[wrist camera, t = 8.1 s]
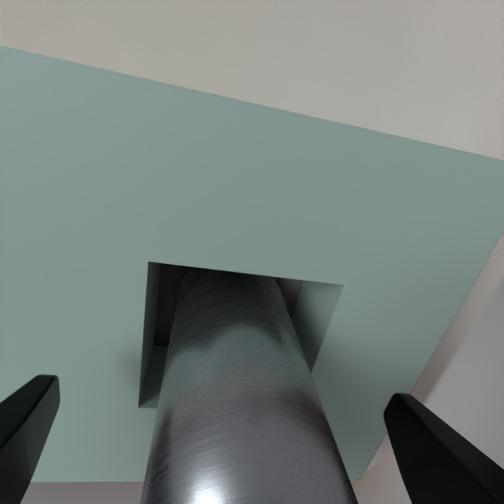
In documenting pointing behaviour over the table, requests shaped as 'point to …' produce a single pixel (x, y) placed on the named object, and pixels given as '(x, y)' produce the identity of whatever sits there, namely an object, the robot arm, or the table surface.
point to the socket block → (217, 247)
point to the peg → (239, 403)
